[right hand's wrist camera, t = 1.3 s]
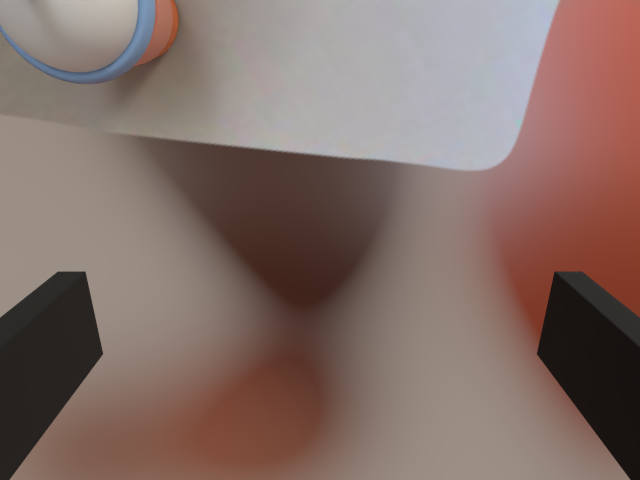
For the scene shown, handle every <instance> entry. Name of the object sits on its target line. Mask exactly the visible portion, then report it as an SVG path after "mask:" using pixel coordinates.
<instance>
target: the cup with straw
mask: <svg viewBox="0 0 640 480" xmlns="http://www.w3.org/2000/svg"><path fill="white" fill-rule="evenodd" d="M178 22H179V19H178V11H177V7H176V4H175V2H174V0H0V31H1V32H2V34H3V35H4V37H5V38H6V40H7V41H8V42H9V43H10V45H11V46H12V47H13V48H14V49H15V50H16V51H17V52H18V53H19V54H20V55H21V56H22V57H23V58H24V59H25V60H26V61H28V62H29V63H30V64H32V65H33V66H34V67H36V68H37V69H39V70H41V71H42V72H44V73H46V74H48V75H50V76H53V77H55V78H57V79H60V80H64V81H67V82H72V83H79V84H96V83H102V82H106V81H109V80H113V79H115V78H117V77H119V76H121V75H123V74H124V73H126V72H127V71H128V70H130V69H131V68H132V67H134V66H138V65H141V64H144V63H147V62H149V61H151V60H152V59H154V58H156V57H158V56H160V55H162V54H163V53H165V52H166V51H167V50H168V49H169V48H170V47H171V45H172V44H173V42H174V40H175V38H176V35H177V31H178Z"/></svg>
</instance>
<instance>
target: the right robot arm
mask: <svg viewBox="0 0 640 480" xmlns="http://www.w3.org/2000/svg"><path fill="white" fill-rule="evenodd" d="M102 355H103V352H102V347H101V342H100V338H99V333H98V328H97V324H96V319H95V314H94V310H93V305H92V300H91V296H90V291H89V286H88V282H87V277H86V273H85V272H57V273H56V274H54V275H53V276H52V277H51V278H49V279H48V280H47V281H46V282H44V283H43V284H42V285H41V286H39V287H38V288H37V289H36V290H34V291H33V292H32V293H31V294H29V295H28V296H27V297H26V298H24V299H23V300H22V301H21V302H19V303H18V304H17V305H16V306H14V307H13V308H12V309H11V310H9V311H8V312H7V313H6V314H4V315H3V316H2V317H1V318H0V480H10V478H11V477H12V475H13V474H14V473H15V471H16V470H17V469H18V467H19V466H20V465H21V463H22V462H23V461H24V459H25V458H26V457H27V455H28V454H29V453H30V451H31V450H32V449H33V447H34V446H35V445H36V443H37V442H38V441H39V439H40V438H41V437H42V435H43V434H44V433H45V431H46V430H47V429H48V427H49V426H50V425H51V423H52V422H53V420H54V419H55V418H56V416H57V415H58V414H59V412H60V411H61V410H62V408H63V407H64V406H65V404H66V403H67V402H68V400H69V399H70V398H71V396H72V395H73V394H74V392H75V391H76V390H77V388H78V387H79V386H80V384H81V383H82V382H83V380H84V379H85V378H86V376H87V375H88V374H89V372H90V371H91V369H92V368H93V367H94V365H95V364H96V363H97V361H98V360H99V359H100V357H101V356H102ZM537 355H538V356H539V357H540V359H541V360H542V361H543V363H544V364H545V365H546V367H547V368H548V369H549V371H550V372H551V374H552V375H553V376H554V377H555V379H556V380H557V382H558V383H559V384H560V386H561V387H562V388H563V390H564V391H565V392H566V394H567V395H568V396H569V398H570V399H571V400H572V402H573V403H574V404H575V406H576V407H577V408H578V410H579V411H580V412H581V414H582V415H583V416H584V418H585V419H586V421H587V422H588V423H589V425H590V426H591V427H592V429H593V430H594V431H595V433H596V434H597V435H598V437H599V438H600V439H601V440H602V442H603V443H604V445H605V446H606V447H607V449H608V450H609V451H610V453H611V454H612V455H613V457H614V458H615V459H616V461H617V462H618V463H619V465H620V466H621V467H622V469H623V470H624V471H625V473H626V474H627V475H628V477H629V478H630V480H640V318H639V317H638V316H637V315H636V314H634V313H633V312H632V311H631V310H629V309H628V308H627V307H626V306H624V305H623V304H622V303H621V302H619V301H618V300H617V299H616V298H614V297H613V296H612V295H611V294H609V293H608V292H607V291H606V290H604V289H603V288H602V287H601V286H599V285H598V284H597V283H596V282H594V281H593V280H592V279H591V278H589V277H588V276H587V275H586V274H584V273H583V272H554V277H553V282H552V286H551V291H550V296H549V300H548V305H547V310H546V314H545V319H544V324H543V328H542V333H541V338H540V342H539V347H538V352H537Z"/></svg>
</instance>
